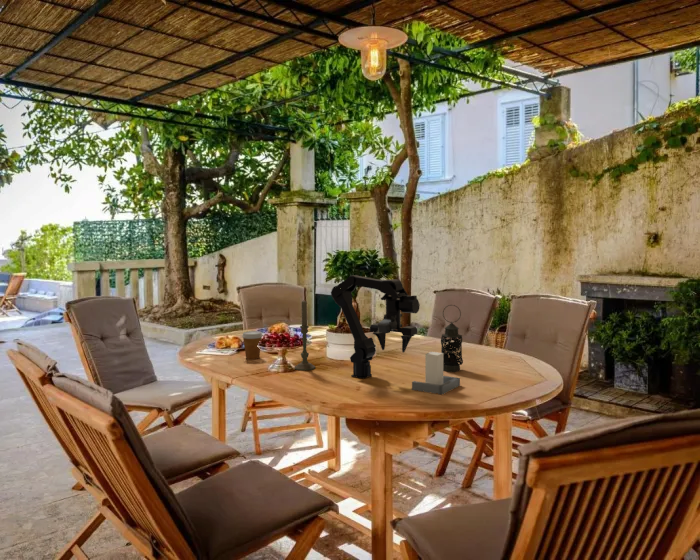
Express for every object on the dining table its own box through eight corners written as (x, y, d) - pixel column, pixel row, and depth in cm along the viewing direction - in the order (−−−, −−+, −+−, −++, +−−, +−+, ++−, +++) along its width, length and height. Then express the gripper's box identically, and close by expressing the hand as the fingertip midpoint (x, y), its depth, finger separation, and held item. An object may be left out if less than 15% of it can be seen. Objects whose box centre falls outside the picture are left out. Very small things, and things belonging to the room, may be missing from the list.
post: (425, 387, 224) (425, 353, 223) (431, 385, 228) (431, 351, 227) (437, 389, 221) (437, 355, 220) (443, 386, 226) (443, 353, 225)
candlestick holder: (302, 365, 265) (301, 298, 263) (319, 367, 261) (318, 299, 258) (290, 369, 258) (289, 300, 255) (307, 371, 253) (306, 301, 251)
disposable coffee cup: (239, 357, 283) (238, 332, 282) (257, 354, 289) (256, 330, 288) (248, 360, 276) (247, 335, 275) (266, 358, 281) (266, 332, 280)
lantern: (463, 368, 256) (464, 303, 254) (462, 373, 248) (462, 306, 246) (441, 367, 259) (441, 303, 257) (438, 371, 250) (438, 305, 248)
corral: (412, 389, 222) (412, 381, 222) (430, 381, 234) (430, 373, 234) (442, 394, 215) (442, 386, 214) (459, 385, 227) (459, 378, 227)
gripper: (361, 312, 232) (362, 352, 233) (403, 315, 221) (403, 357, 222) (377, 309, 241) (377, 347, 242) (418, 312, 230) (418, 352, 231)
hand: (393, 351), depth 234 cm, fingers open, 9 cm apart
